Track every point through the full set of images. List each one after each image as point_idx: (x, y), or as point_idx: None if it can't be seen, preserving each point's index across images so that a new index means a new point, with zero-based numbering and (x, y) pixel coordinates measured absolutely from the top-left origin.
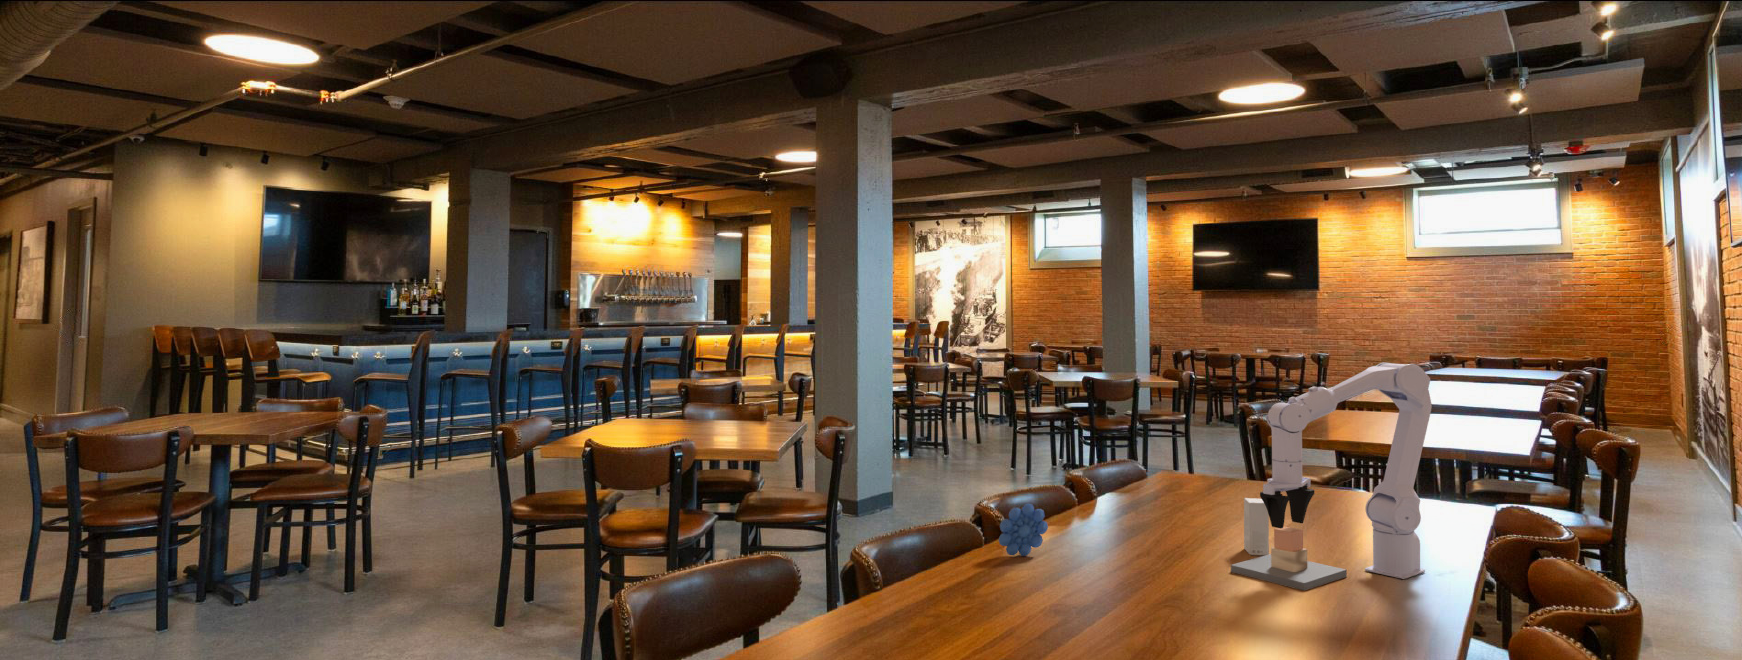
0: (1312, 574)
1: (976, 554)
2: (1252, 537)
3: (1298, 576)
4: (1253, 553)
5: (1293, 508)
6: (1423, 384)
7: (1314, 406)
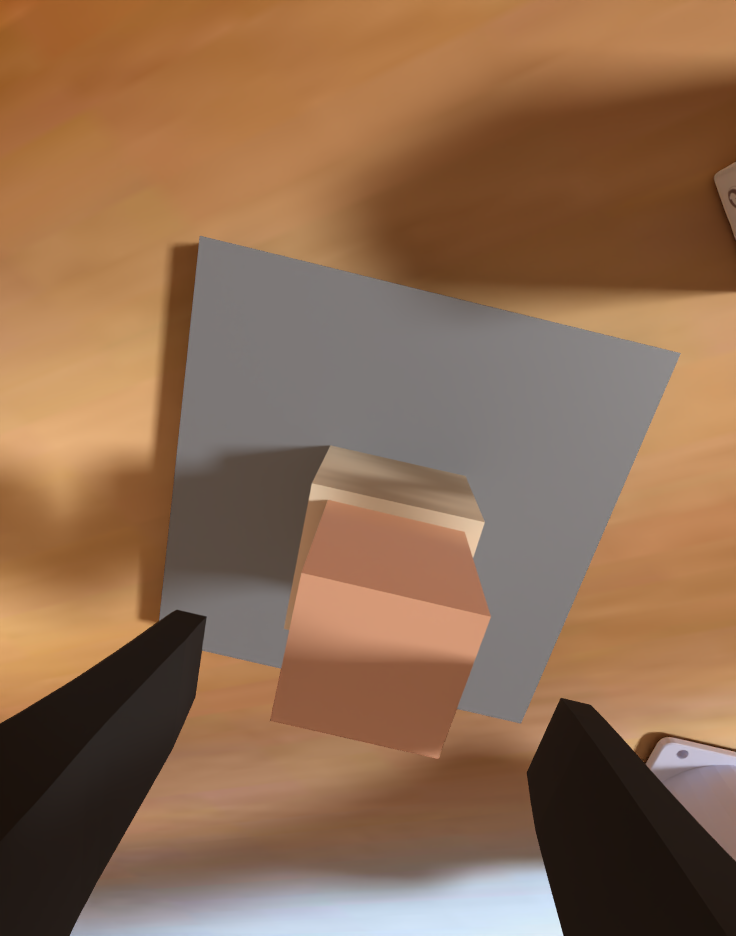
0: None
1: None
2: None
3: (245, 596)
4: (726, 198)
5: (633, 869)
6: None
7: None
